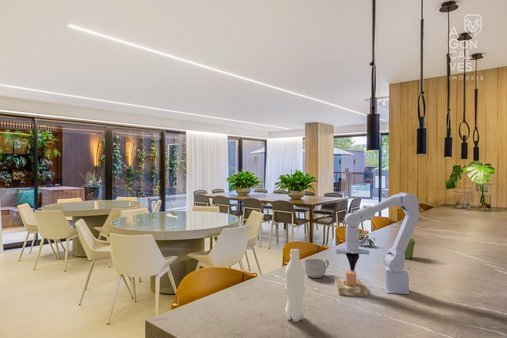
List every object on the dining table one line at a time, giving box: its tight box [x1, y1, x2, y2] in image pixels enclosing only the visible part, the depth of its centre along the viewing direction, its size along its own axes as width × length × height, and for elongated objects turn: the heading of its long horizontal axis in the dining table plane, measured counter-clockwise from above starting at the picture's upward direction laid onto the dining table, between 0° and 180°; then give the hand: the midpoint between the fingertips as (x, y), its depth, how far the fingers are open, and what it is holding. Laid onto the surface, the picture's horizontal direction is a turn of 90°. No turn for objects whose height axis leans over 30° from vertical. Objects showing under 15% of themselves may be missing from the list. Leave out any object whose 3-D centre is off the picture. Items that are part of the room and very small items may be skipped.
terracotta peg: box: [344, 270, 357, 286], centre depth 142 cm, size 4×4×8 cm
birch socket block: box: [334, 277, 369, 297], centre depth 142 cm, size 12×12×3 cm
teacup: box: [303, 258, 330, 279], centre depth 162 cm, size 14×11×8 cm
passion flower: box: [359, 231, 376, 248], centre depth 225 cm, size 11×11×12 cm
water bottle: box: [284, 248, 306, 323], centre depth 116 cm, size 7×7×25 cm
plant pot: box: [394, 237, 417, 260], centre depth 195 cm, size 12×12×11 cm
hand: (352, 269), depth 144 cm, fingers closed
